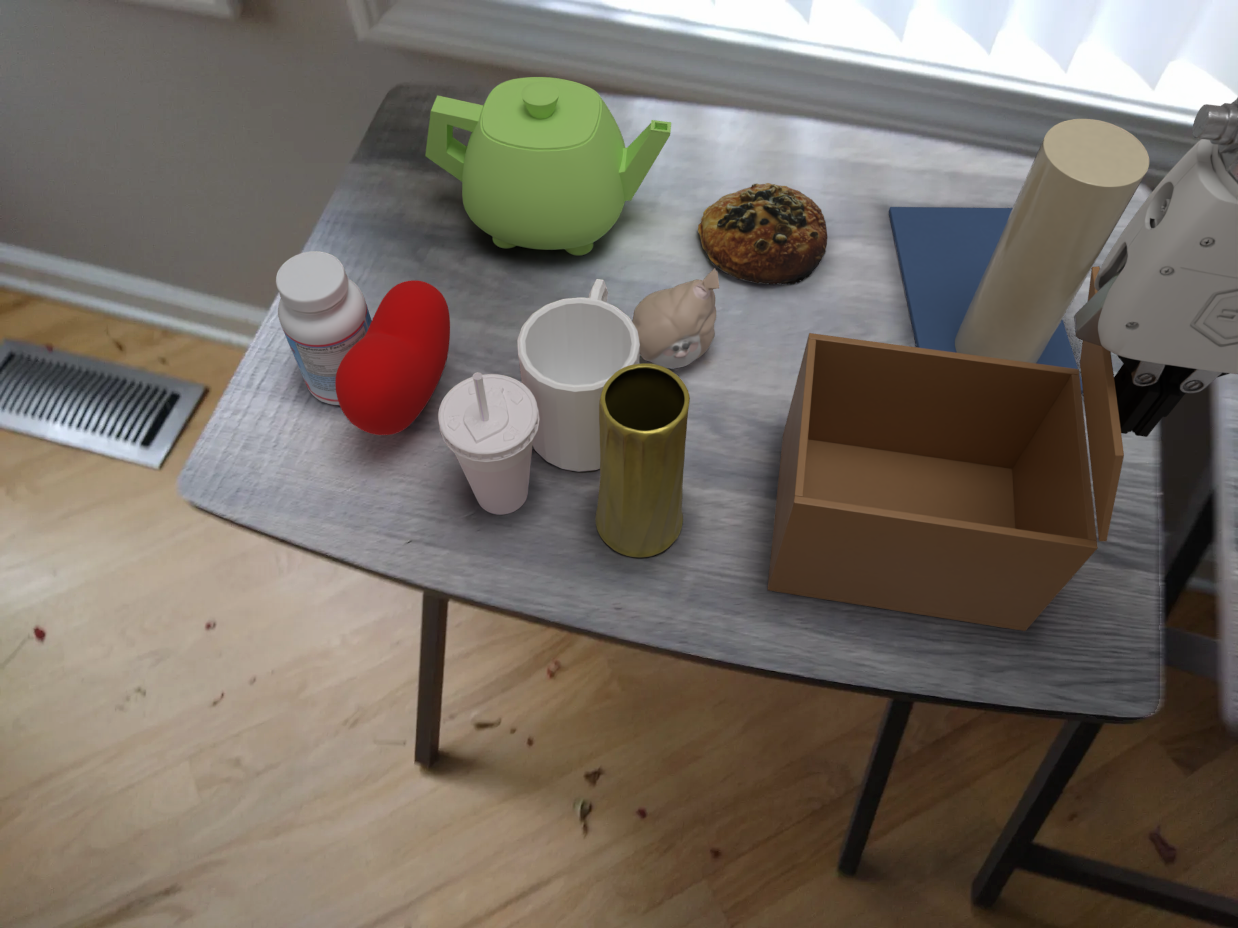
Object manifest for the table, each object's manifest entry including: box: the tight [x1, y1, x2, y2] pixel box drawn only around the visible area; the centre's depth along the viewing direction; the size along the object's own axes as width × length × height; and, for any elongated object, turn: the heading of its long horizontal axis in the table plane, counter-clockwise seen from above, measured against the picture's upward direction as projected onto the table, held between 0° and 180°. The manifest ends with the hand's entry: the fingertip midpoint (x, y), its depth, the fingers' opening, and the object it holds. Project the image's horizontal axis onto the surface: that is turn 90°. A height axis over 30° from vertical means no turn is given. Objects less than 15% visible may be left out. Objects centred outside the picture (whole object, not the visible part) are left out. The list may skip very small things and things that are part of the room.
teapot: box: [424, 76, 672, 256], centre depth 80 cm, size 20×13×13 cm
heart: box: [335, 279, 451, 436], centre depth 70 cm, size 12×5×10 cm, turn 160°
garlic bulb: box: [631, 268, 720, 369], centre depth 74 cm, size 7×6×8 cm
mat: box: [888, 206, 1083, 395], centre depth 80 cm, size 20×12×1 cm, turn 0°
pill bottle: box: [275, 250, 372, 406], centre depth 71 cm, size 6×6×11 cm
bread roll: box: [697, 182, 828, 286], centre depth 83 cm, size 11×11×5 cm
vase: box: [594, 362, 691, 558], centre depth 63 cm, size 6×6×14 cm
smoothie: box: [437, 372, 540, 516], centre depth 64 cm, size 6×6×14 cm
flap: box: [1079, 266, 1125, 542], centre depth 55 cm, size 8×13×1 cm
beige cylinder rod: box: [955, 118, 1150, 364], centre depth 69 cm, size 6×6×19 cm
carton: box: [767, 332, 1099, 632], centre depth 64 cm, size 17×13×12 cm
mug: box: [516, 278, 641, 473], centre depth 70 cm, size 8×12×10 cm
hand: (1127, 413), depth 55 cm, fingers closed
